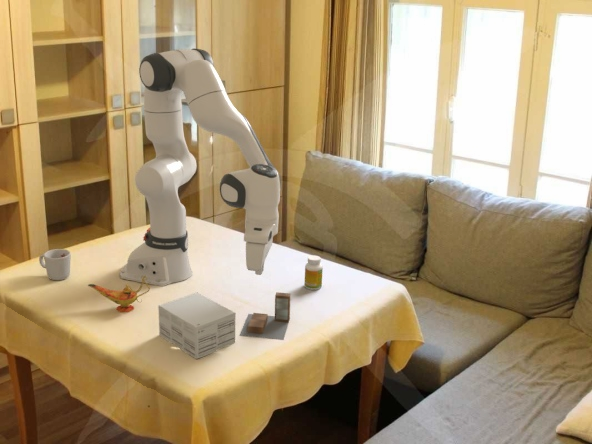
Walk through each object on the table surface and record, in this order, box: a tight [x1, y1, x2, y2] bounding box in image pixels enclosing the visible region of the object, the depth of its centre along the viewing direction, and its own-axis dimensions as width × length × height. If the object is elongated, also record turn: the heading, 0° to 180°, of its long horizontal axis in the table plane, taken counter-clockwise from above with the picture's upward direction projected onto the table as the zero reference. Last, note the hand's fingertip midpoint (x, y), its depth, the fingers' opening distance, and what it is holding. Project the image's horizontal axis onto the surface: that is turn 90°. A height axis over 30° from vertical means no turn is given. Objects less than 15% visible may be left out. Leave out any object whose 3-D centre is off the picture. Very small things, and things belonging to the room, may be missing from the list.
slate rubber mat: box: [239, 313, 290, 341], centre depth 208 cm, size 12×13×1 cm
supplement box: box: [157, 292, 236, 360], centre depth 199 cm, size 17×13×9 cm
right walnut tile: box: [274, 292, 292, 323], centre depth 210 cm, size 4×2×8 cm, turn 83°
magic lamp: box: [87, 275, 151, 314], centre depth 214 cm, size 7×18×11 cm, turn 85°
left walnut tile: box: [248, 312, 269, 334], centre depth 207 cm, size 4×2×8 cm
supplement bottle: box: [304, 255, 324, 291], centre depth 233 cm, size 5×5×10 cm
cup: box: [39, 248, 72, 281], centre depth 233 cm, size 11×8×8 cm
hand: (259, 272), depth 205 cm, fingers closed
